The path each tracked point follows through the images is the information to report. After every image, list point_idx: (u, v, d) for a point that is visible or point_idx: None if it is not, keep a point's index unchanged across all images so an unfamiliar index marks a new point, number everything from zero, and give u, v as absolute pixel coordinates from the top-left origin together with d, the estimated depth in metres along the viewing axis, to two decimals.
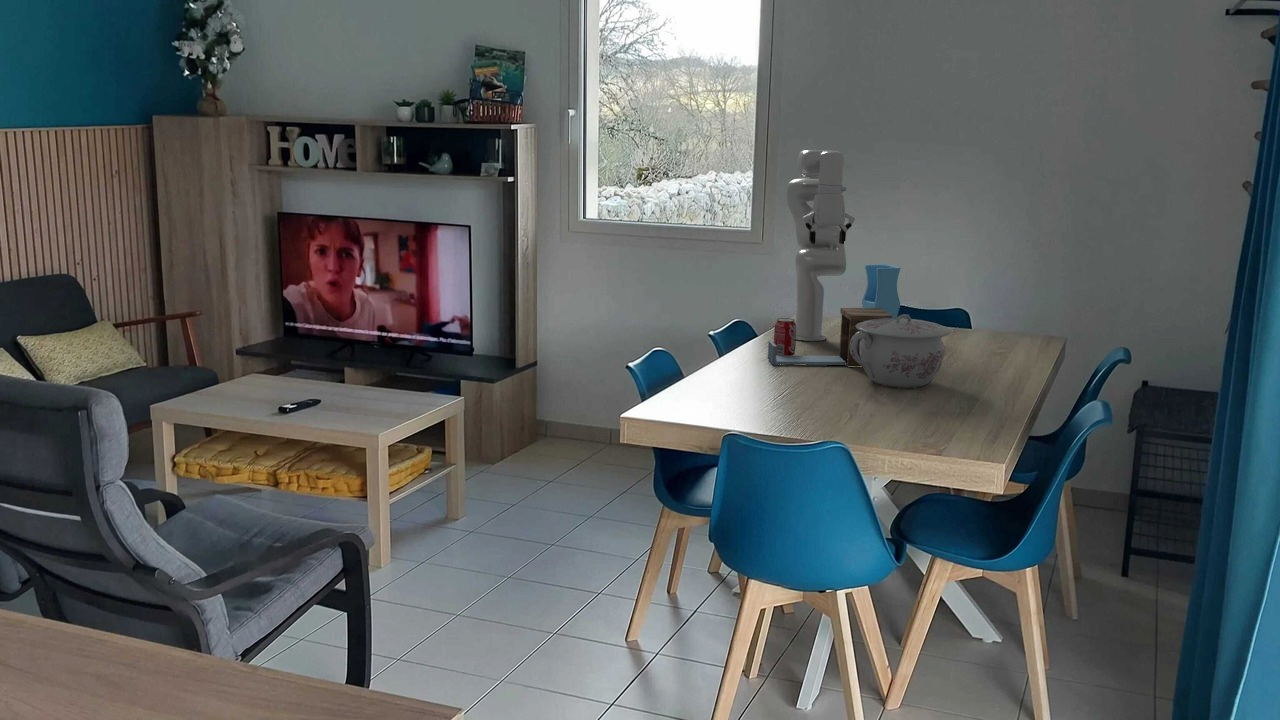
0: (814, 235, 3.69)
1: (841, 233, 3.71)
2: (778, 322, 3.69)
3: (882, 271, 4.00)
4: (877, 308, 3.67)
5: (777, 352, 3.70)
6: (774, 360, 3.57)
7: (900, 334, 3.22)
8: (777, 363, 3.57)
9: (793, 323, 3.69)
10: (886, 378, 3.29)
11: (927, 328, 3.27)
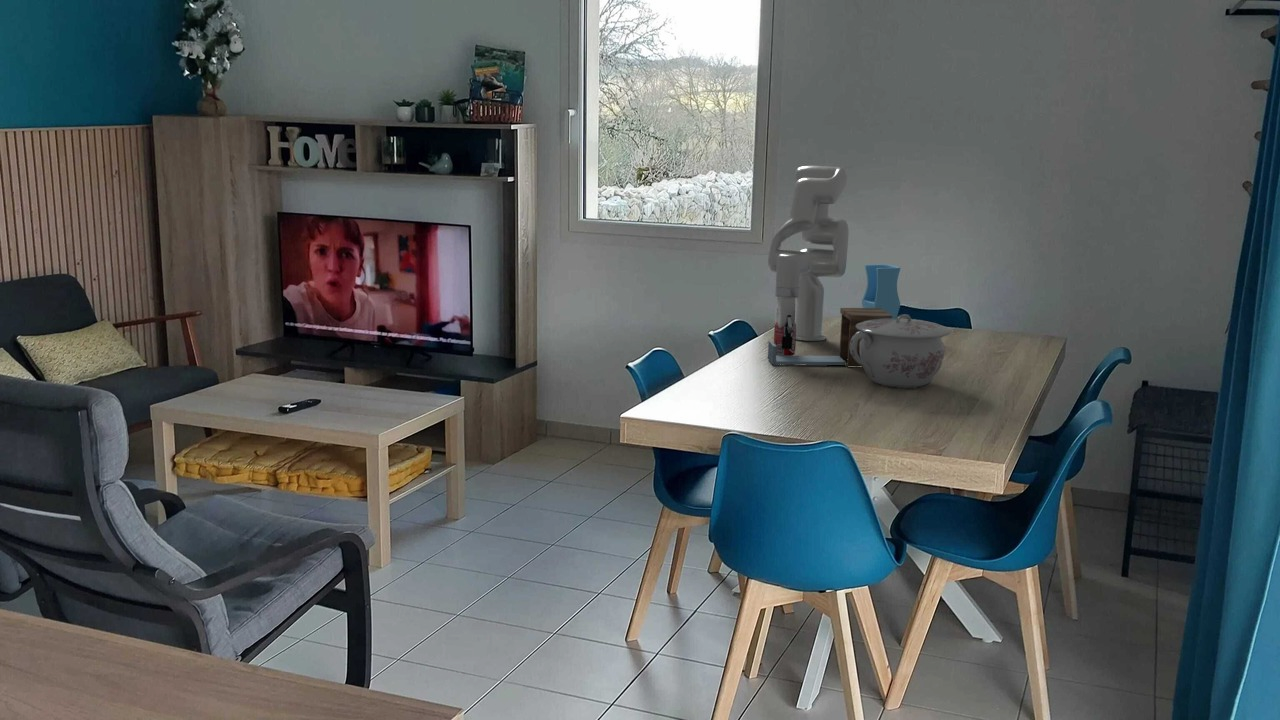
0: None
1: None
2: None
3: (882, 271, 4.00)
4: (877, 308, 3.67)
5: (777, 352, 3.70)
6: (774, 360, 3.57)
7: (900, 334, 3.22)
8: (777, 363, 3.57)
9: None
10: (886, 378, 3.29)
11: (927, 328, 3.27)
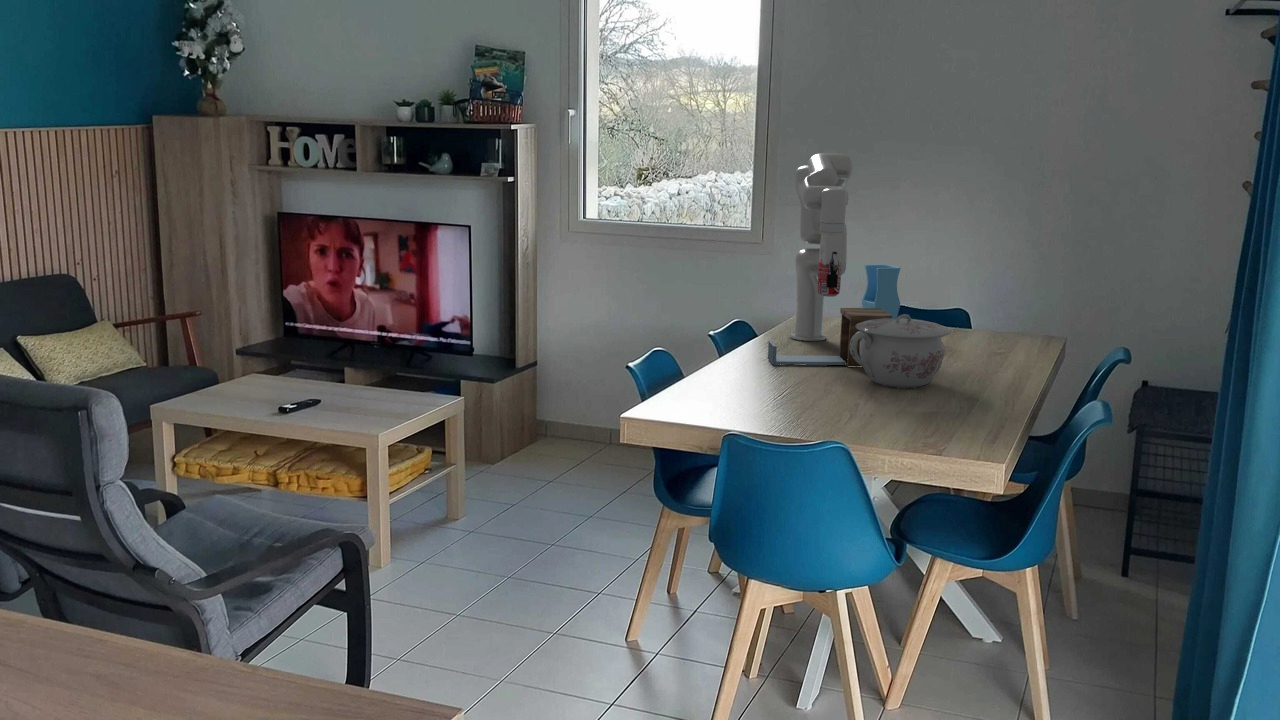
0: None
1: None
2: None
3: (882, 271, 4.00)
4: (877, 308, 3.67)
5: (821, 291, 3.56)
6: (774, 360, 3.57)
7: (900, 334, 3.22)
8: (777, 363, 3.57)
9: None
10: (886, 378, 3.29)
11: (927, 328, 3.27)
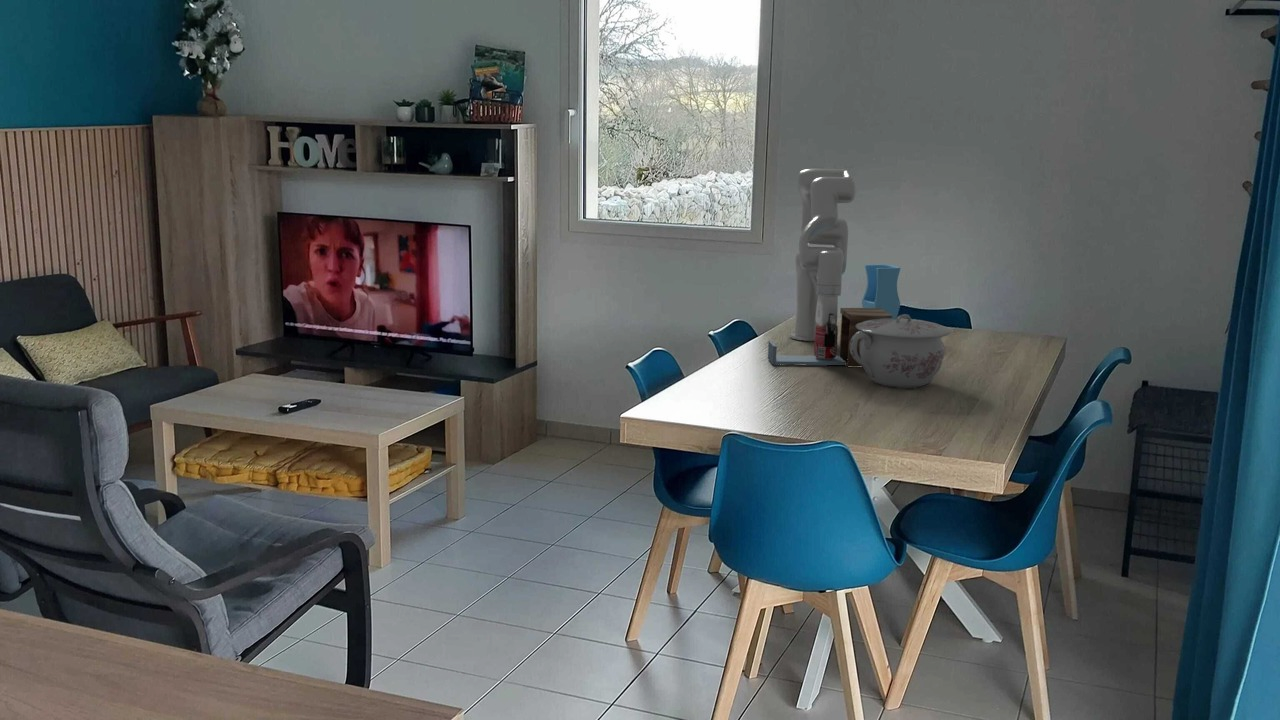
0: None
1: None
2: None
3: (882, 271, 4.00)
4: (877, 308, 3.67)
5: (818, 355, 3.61)
6: (774, 360, 3.57)
7: (900, 334, 3.22)
8: (777, 363, 3.57)
9: None
10: (886, 378, 3.29)
11: (927, 328, 3.27)
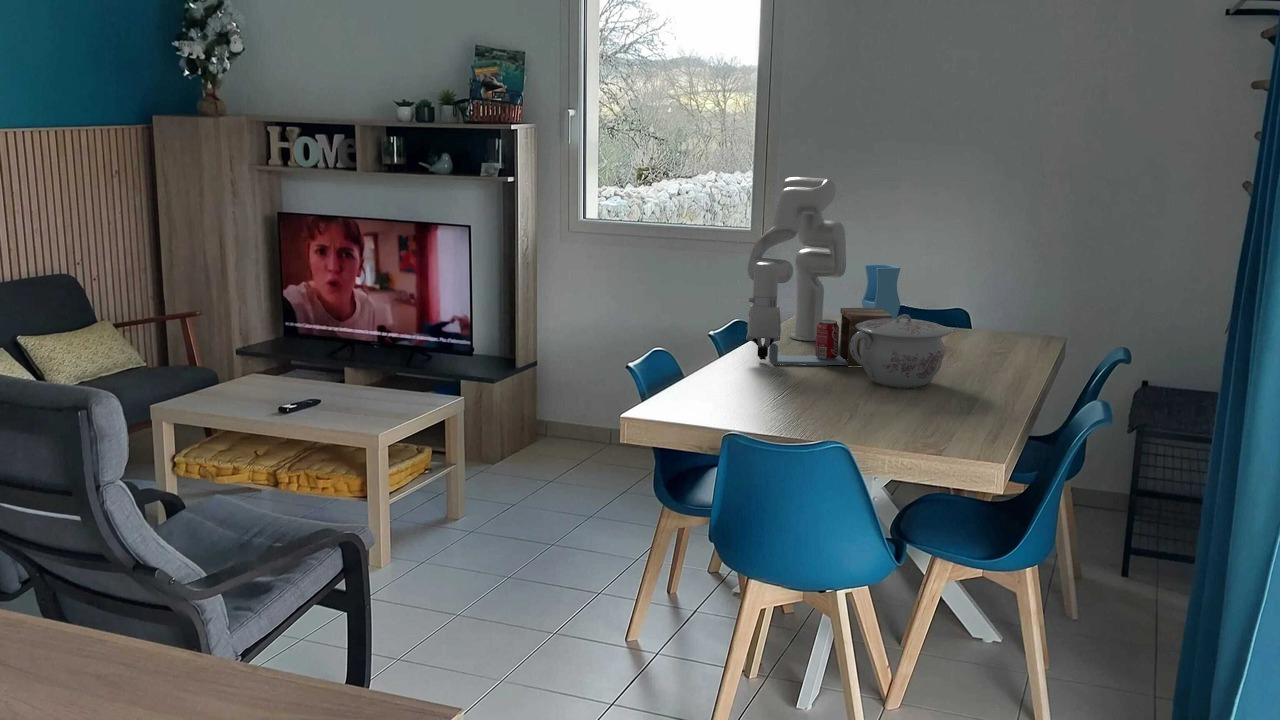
0: None
1: None
2: (820, 324, 3.59)
3: (882, 271, 4.00)
4: (877, 308, 3.67)
5: (819, 355, 3.61)
6: (775, 360, 3.57)
7: (900, 334, 3.22)
8: (778, 363, 3.57)
9: (836, 325, 3.59)
10: (886, 378, 3.29)
11: (927, 328, 3.27)
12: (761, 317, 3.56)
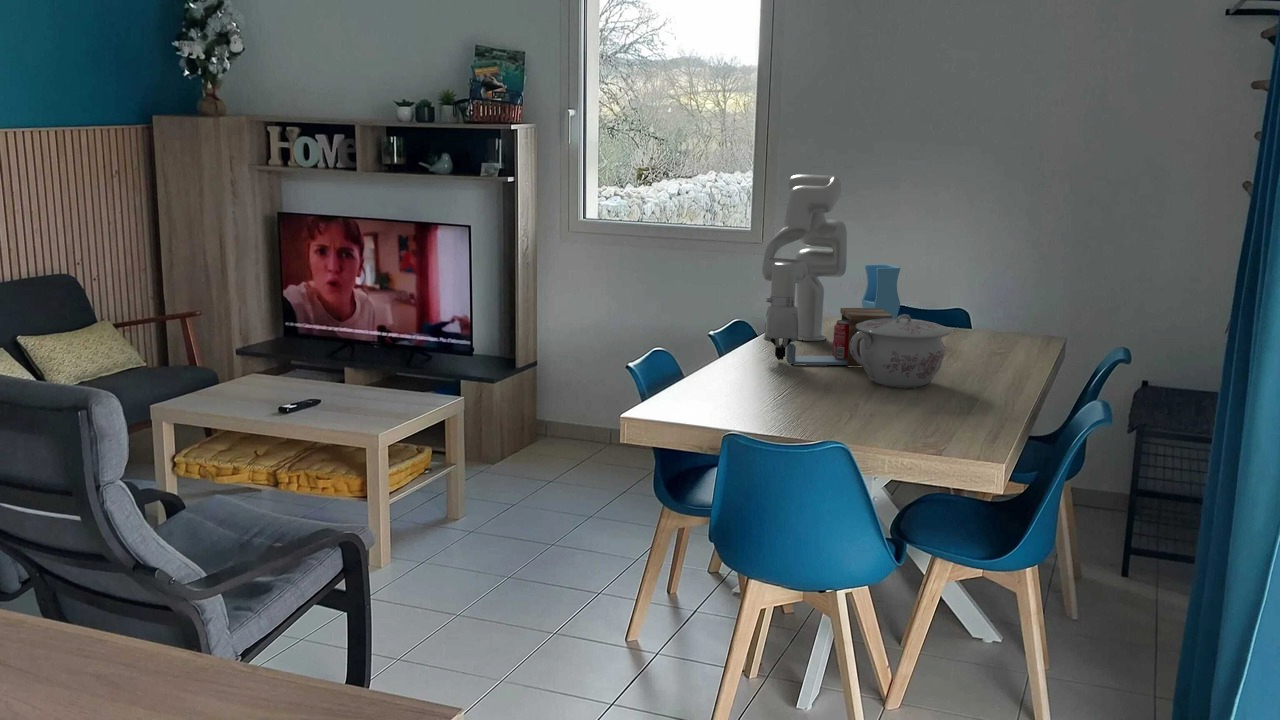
0: None
1: None
2: (838, 324, 3.60)
3: (882, 271, 4.00)
4: (877, 308, 3.67)
5: (837, 355, 3.61)
6: (793, 360, 3.58)
7: (900, 334, 3.22)
8: (796, 363, 3.58)
9: None
10: (886, 378, 3.29)
11: (927, 328, 3.27)
12: (779, 317, 3.56)
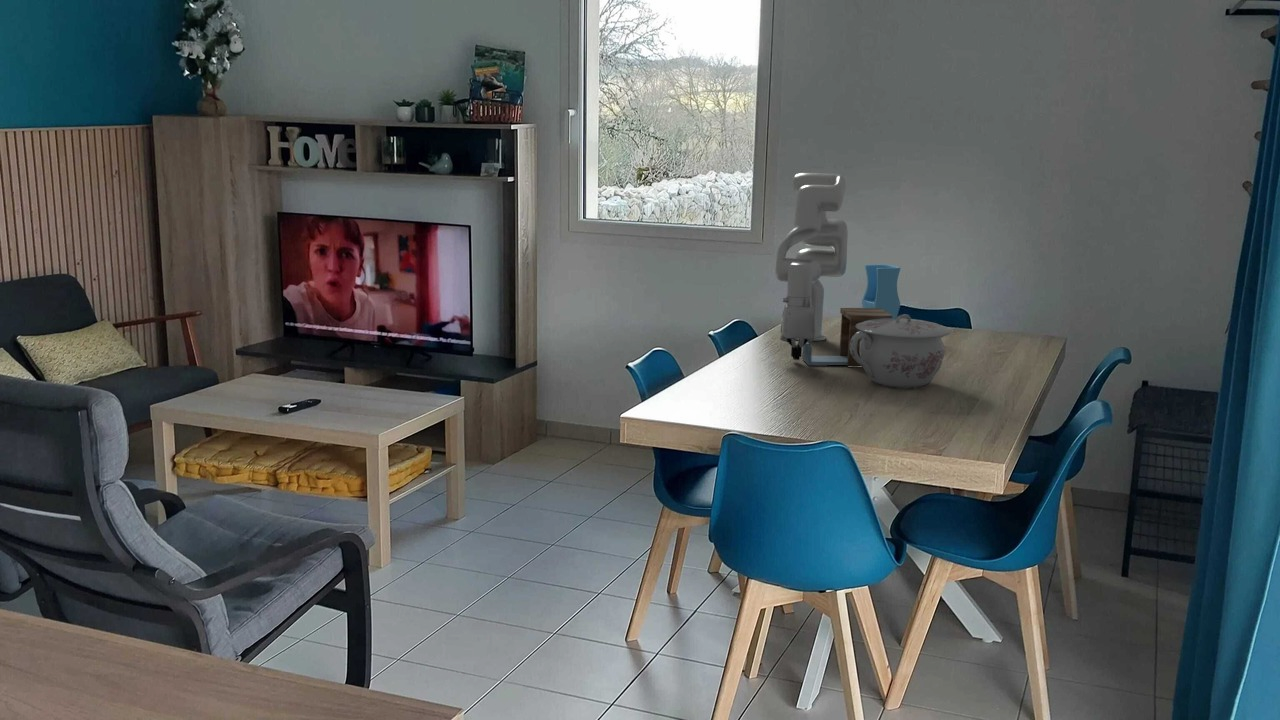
0: None
1: None
2: None
3: (882, 271, 4.00)
4: (877, 308, 3.67)
5: None
6: (809, 360, 3.58)
7: (900, 334, 3.22)
8: (812, 363, 3.58)
9: None
10: (886, 378, 3.29)
11: (927, 328, 3.27)
12: (795, 317, 3.56)
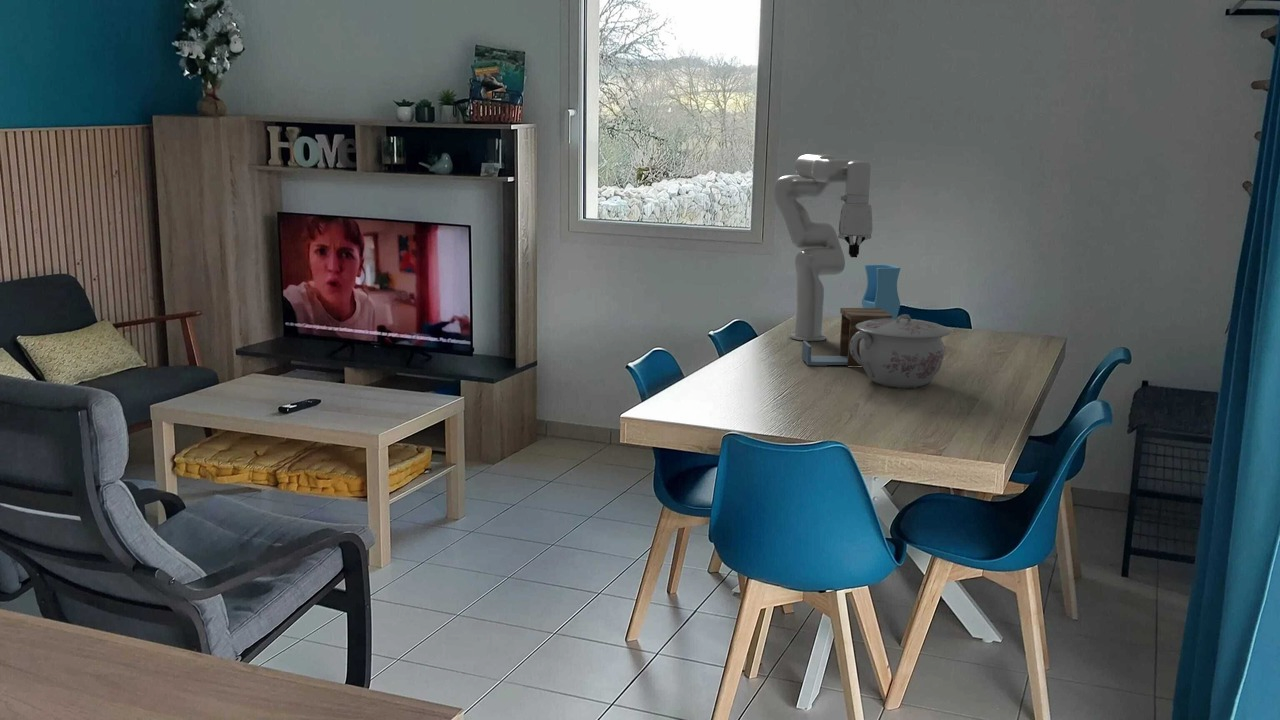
0: None
1: None
2: None
3: (882, 271, 4.00)
4: (877, 308, 3.67)
5: None
6: (809, 360, 3.58)
7: (900, 334, 3.22)
8: (812, 363, 3.58)
9: None
10: (886, 378, 3.29)
11: (927, 328, 3.27)
12: (854, 215, 3.66)
